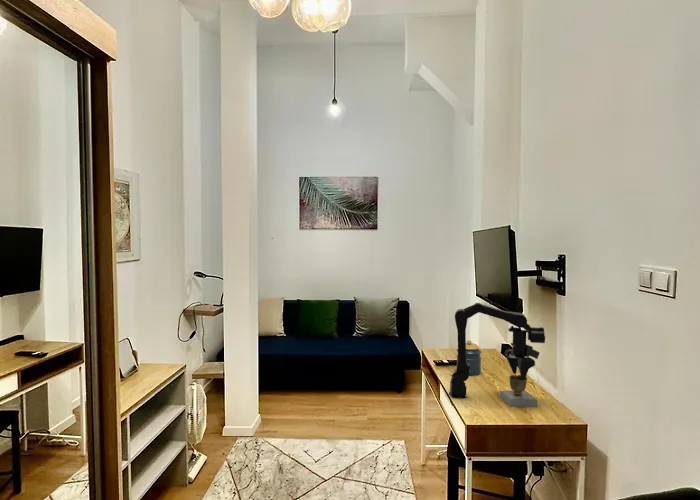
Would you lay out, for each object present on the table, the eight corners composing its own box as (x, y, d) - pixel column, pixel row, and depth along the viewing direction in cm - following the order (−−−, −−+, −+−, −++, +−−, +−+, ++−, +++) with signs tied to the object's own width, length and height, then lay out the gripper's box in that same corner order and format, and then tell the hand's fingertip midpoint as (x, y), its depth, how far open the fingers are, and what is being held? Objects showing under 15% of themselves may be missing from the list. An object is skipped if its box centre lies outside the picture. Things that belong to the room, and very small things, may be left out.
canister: (455, 374, 240) (455, 341, 240) (457, 368, 252) (458, 337, 252) (480, 377, 236) (481, 343, 236) (481, 370, 248) (482, 338, 248)
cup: (505, 392, 202) (505, 375, 202) (518, 391, 204) (519, 373, 204) (516, 398, 195) (517, 379, 195) (530, 396, 197) (530, 378, 197)
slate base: (510, 406, 193) (510, 399, 193) (499, 397, 205) (499, 390, 205) (537, 406, 194) (537, 399, 194) (525, 396, 206) (525, 390, 206)
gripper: (547, 346, 190) (546, 383, 190) (527, 337, 209) (527, 370, 209) (521, 346, 190) (521, 383, 190) (504, 337, 208) (503, 370, 208)
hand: (518, 376), depth 199 cm, fingers open, 9 cm apart
